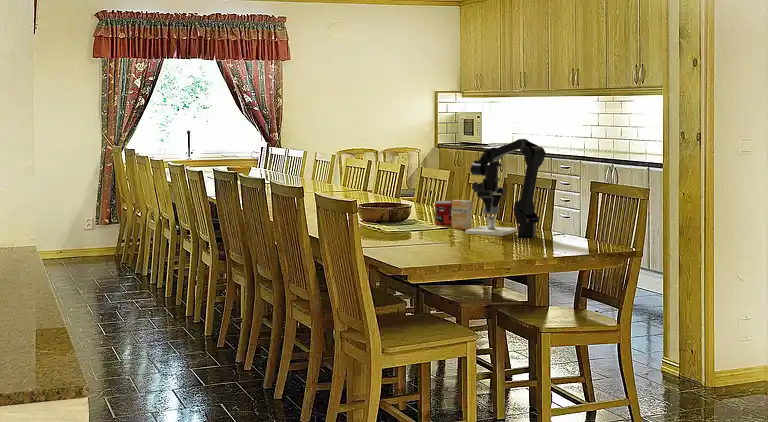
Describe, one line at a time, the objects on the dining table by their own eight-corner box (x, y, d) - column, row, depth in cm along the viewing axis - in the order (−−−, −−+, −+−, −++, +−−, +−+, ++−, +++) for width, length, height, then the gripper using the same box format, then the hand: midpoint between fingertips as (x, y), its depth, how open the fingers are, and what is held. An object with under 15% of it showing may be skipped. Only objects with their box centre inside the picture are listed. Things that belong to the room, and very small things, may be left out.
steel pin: (496, 228, 425) (496, 216, 425) (493, 229, 422) (493, 217, 422) (489, 228, 427) (489, 216, 427) (486, 229, 424) (486, 217, 424)
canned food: (432, 224, 456) (432, 201, 455) (446, 223, 460) (446, 200, 459) (439, 225, 450) (439, 202, 448) (454, 224, 453) (454, 201, 452)
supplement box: (451, 228, 440) (451, 200, 438) (455, 227, 444) (455, 199, 443) (467, 229, 436) (467, 201, 434) (471, 228, 440) (471, 200, 439)
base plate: (516, 231, 427) (516, 228, 427) (502, 235, 414) (502, 232, 413) (480, 229, 436) (480, 225, 436) (465, 233, 423) (465, 230, 422)
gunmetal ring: (501, 213, 425) (501, 206, 425) (495, 214, 419) (495, 207, 419) (487, 212, 429) (487, 205, 428) (481, 213, 423) (481, 207, 422)
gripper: (483, 174, 434) (483, 208, 436) (466, 177, 418) (466, 212, 420) (506, 175, 429) (506, 209, 430) (489, 178, 413) (489, 213, 414)
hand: (491, 211), depth 424 cm, fingers closed on gunmetal ring, 7 cm apart
